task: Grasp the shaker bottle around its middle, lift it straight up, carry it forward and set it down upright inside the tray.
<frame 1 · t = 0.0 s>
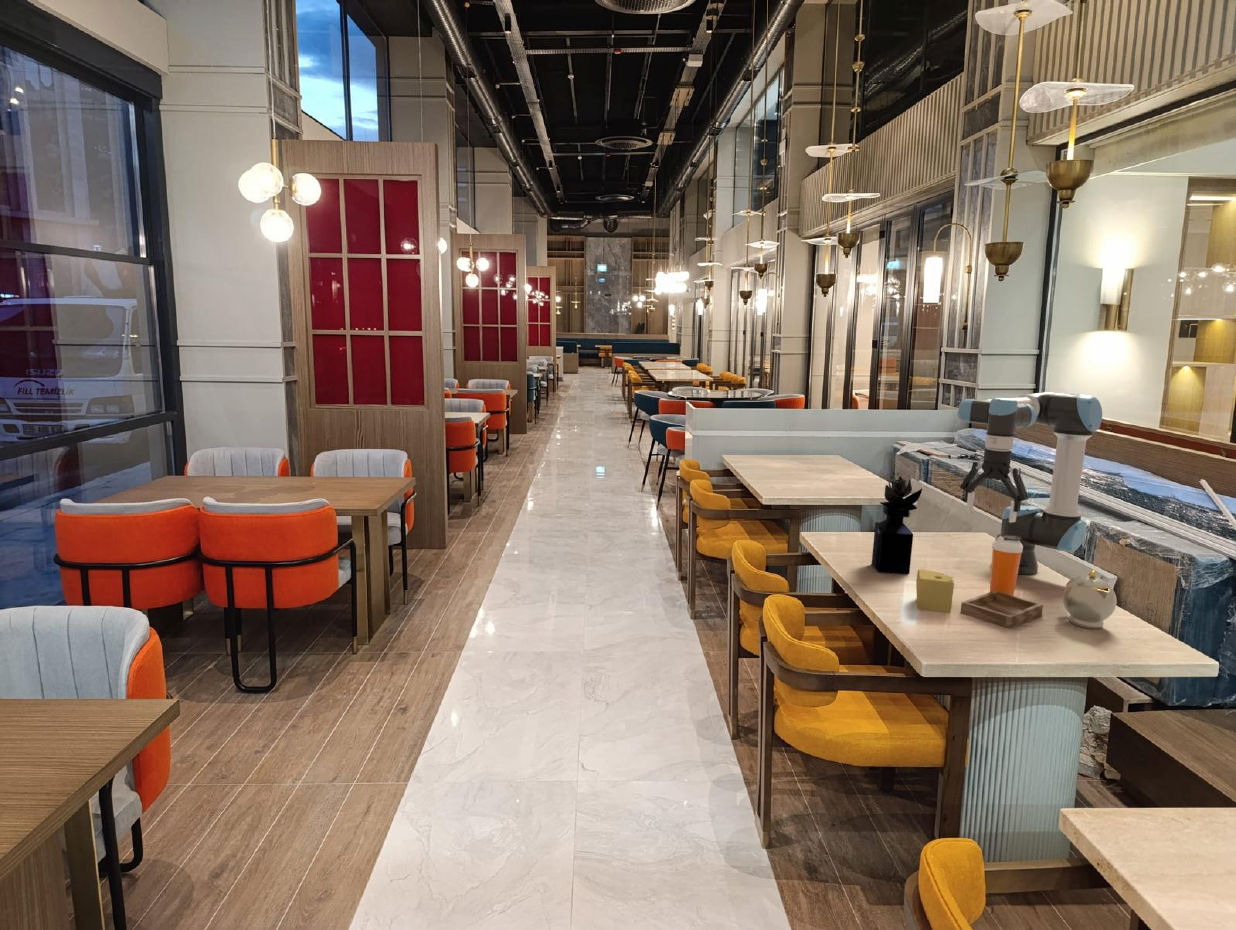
hand: (990, 517, 245), 28 cm above the table, fingers open, 13 cm apart
vase: (890, 569, 284), on the table
cheese: (932, 606, 247), on the table
tray: (1001, 614, 241), on the table
teapot: (1082, 622, 237), on the table
shaker bottle: (1001, 596, 259), on the table
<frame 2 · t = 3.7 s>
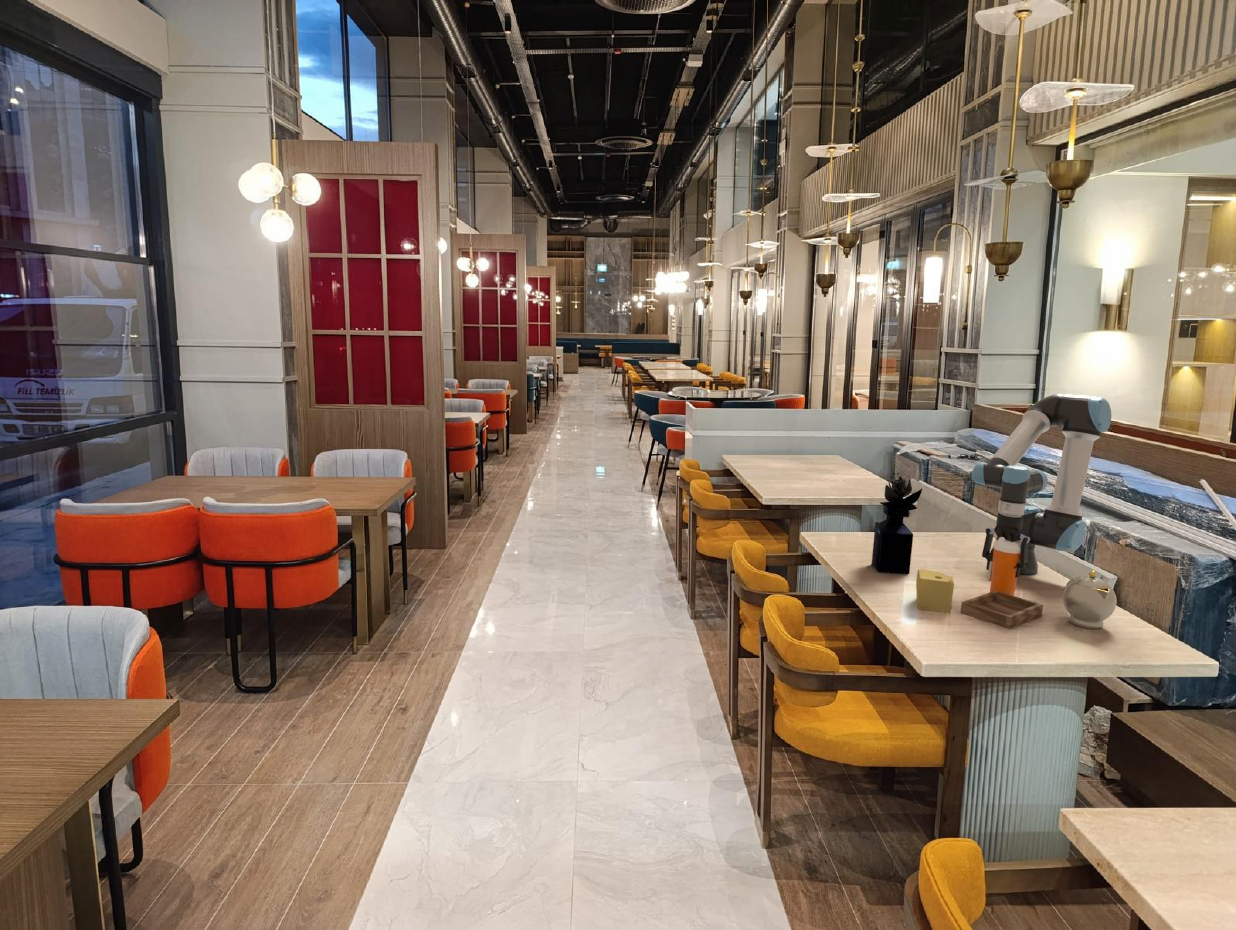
hand: (1000, 583, 259), 4 cm above the table, fingers open, 6 cm apart
shaker bottle: (1001, 596, 259), on the table, touching gripper, hand
everything else where it was.
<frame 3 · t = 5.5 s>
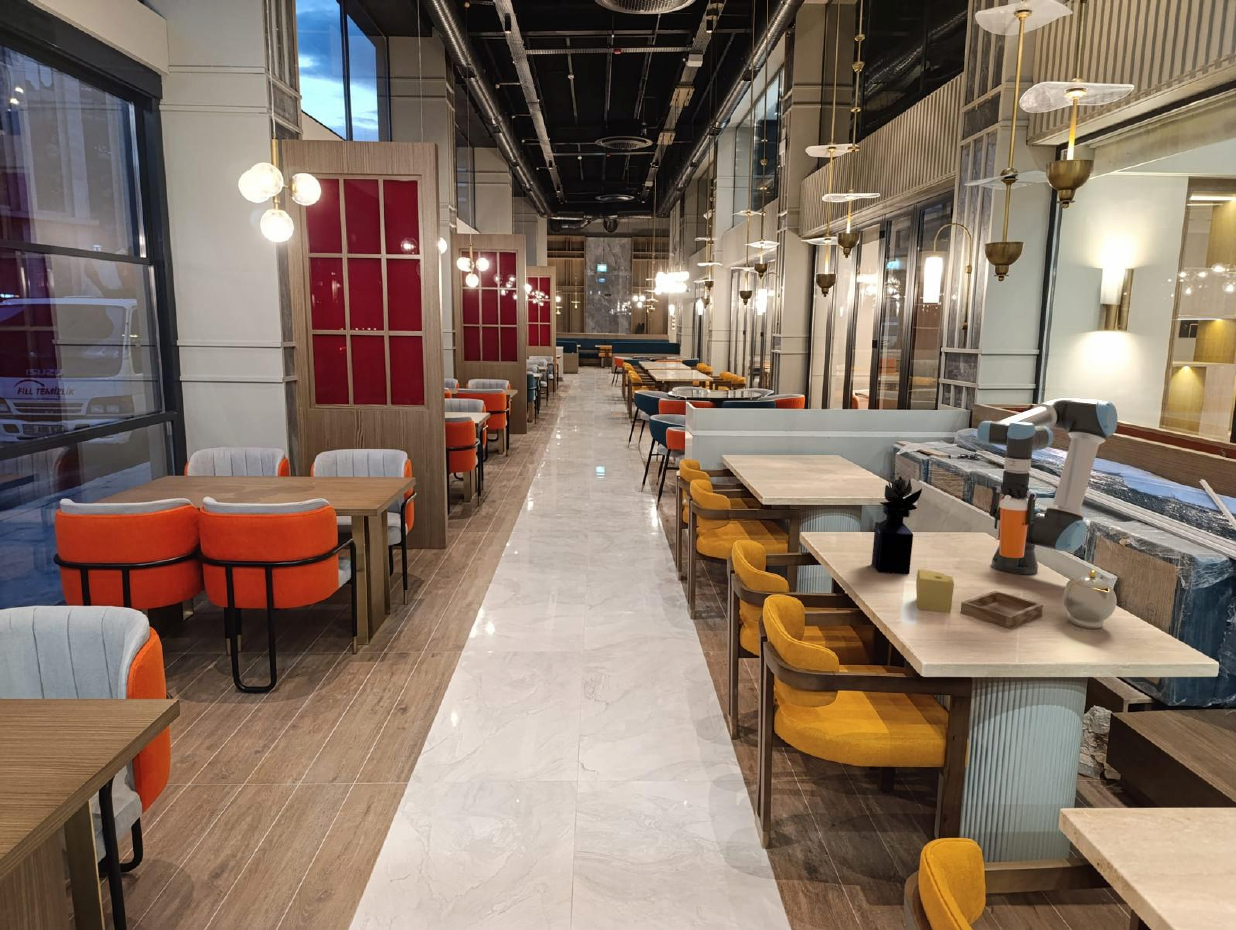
hand: (1008, 541, 256), 18 cm above the table
shaker bottle: (1011, 555, 256), point 14 cm above the table, touching gripper, hand
everything else where it was.
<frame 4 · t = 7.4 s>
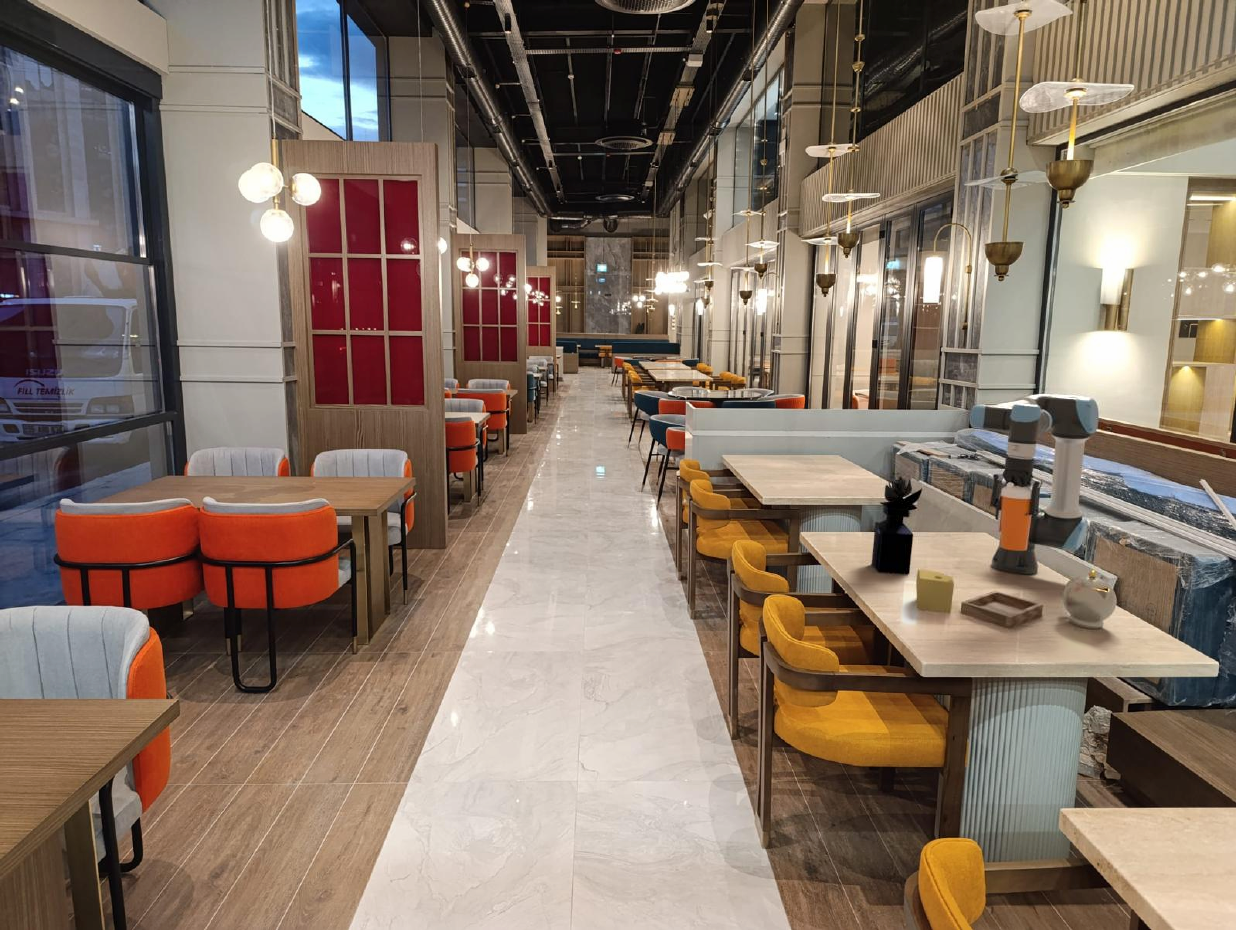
hand: (1010, 533, 237), 25 cm above the table
shaker bottle: (1013, 548, 237), point 21 cm above the table, touching gripper, hand
everything else where it was.
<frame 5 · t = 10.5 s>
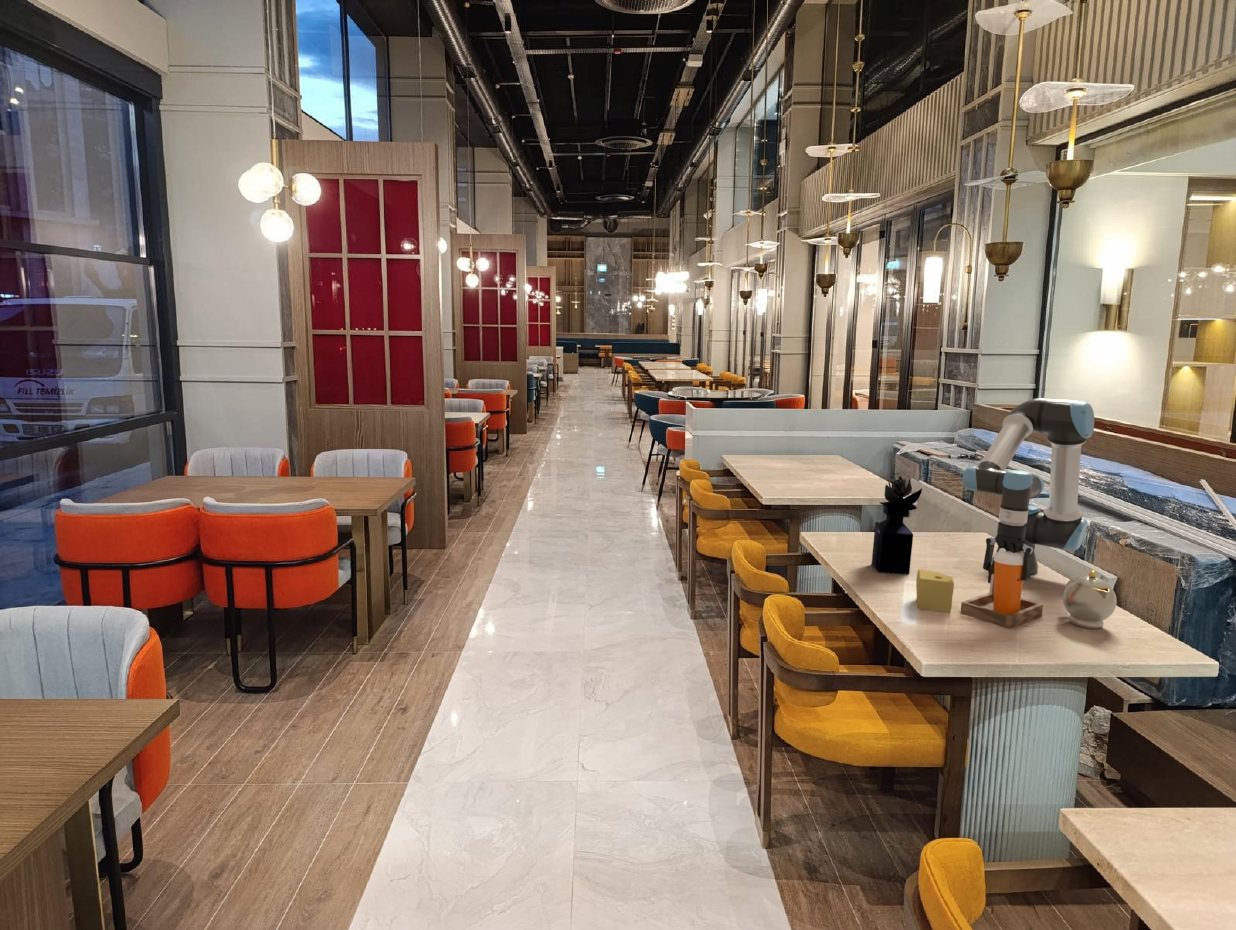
hand: (1002, 597, 240), 6 cm above the table, fingers open, 6 cm apart
shaker bottle: (1006, 612, 240), point 1 cm above the table, touching tray, gripper, hand
everything else where it was.
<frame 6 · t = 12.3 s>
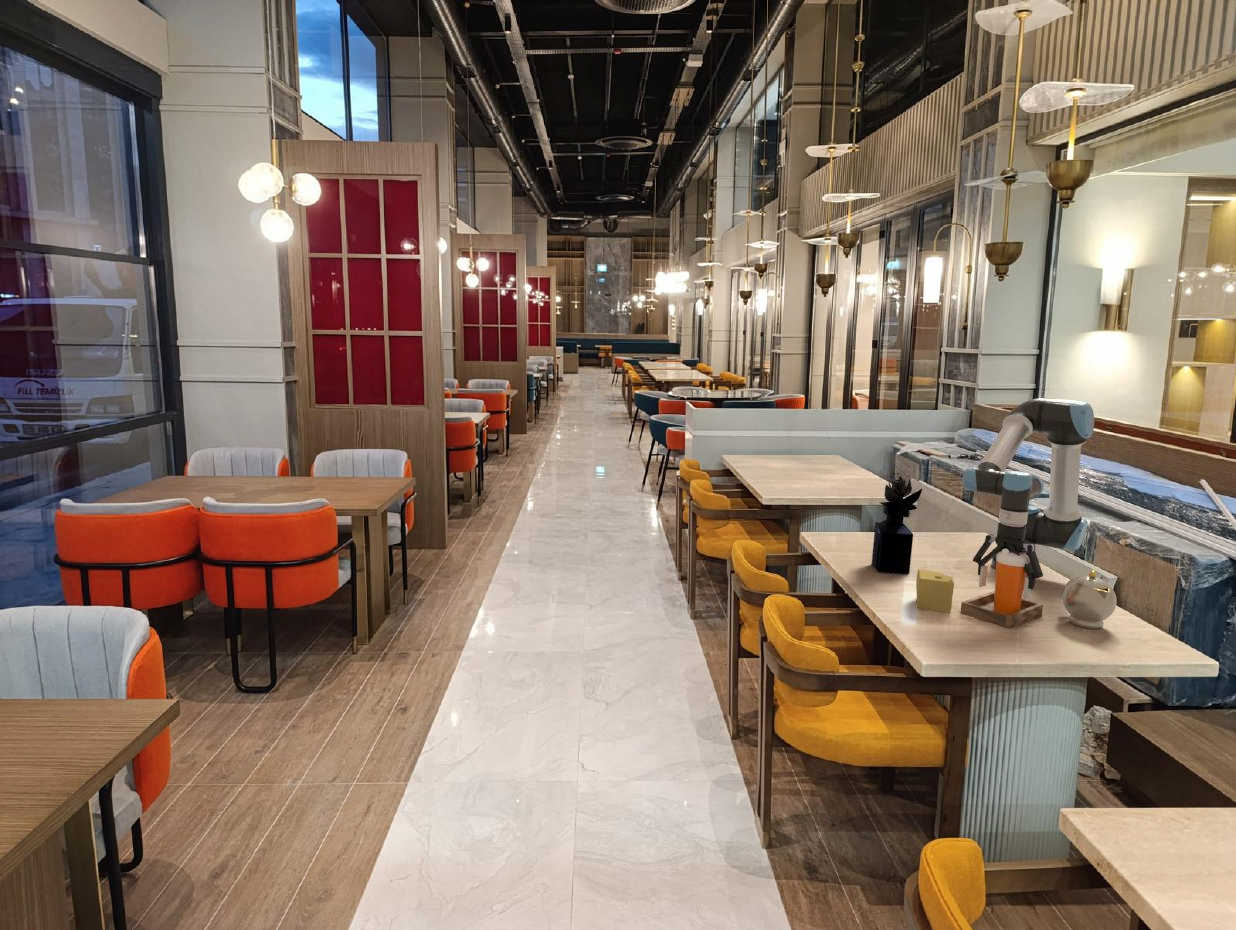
hand: (1003, 592, 240), 7 cm above the table, fingers open, 13 cm apart
shaker bottle: (1006, 612, 240), point 1 cm above the table, touching tray
everything else where it was.
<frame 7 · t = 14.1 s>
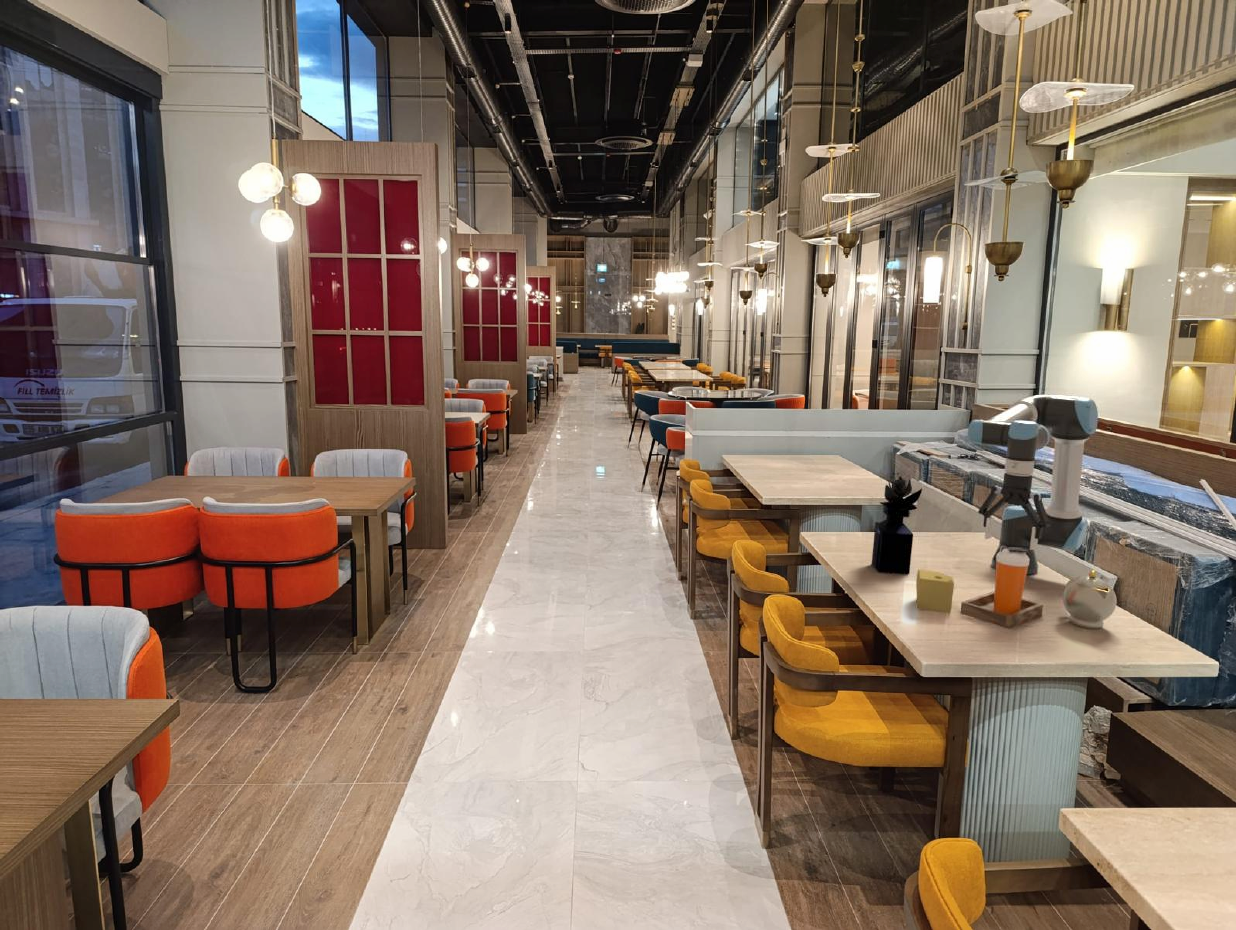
hand: (1010, 543, 238), 22 cm above the table, fingers open, 13 cm apart
nothing on the table moved.
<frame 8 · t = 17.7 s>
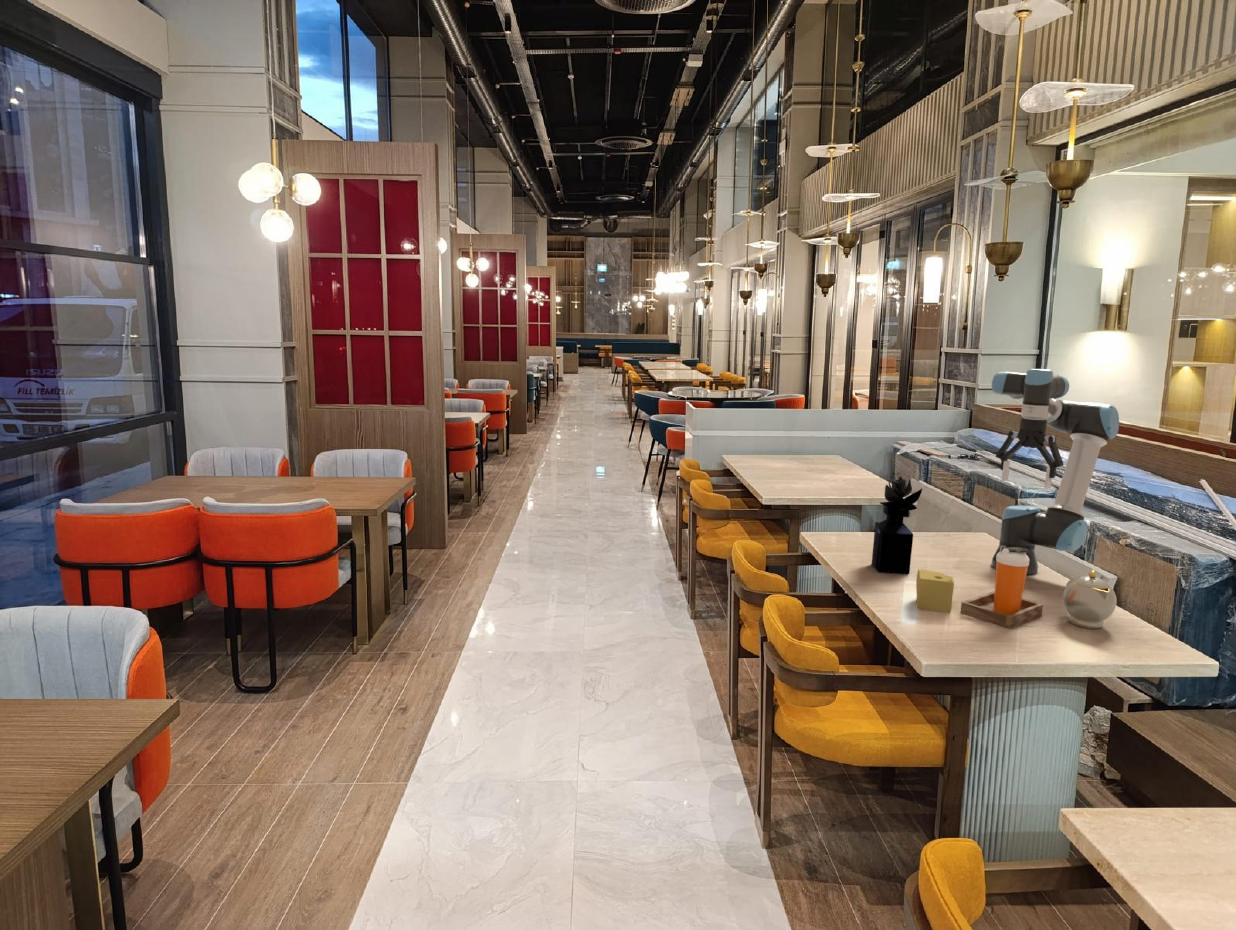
hand: (1025, 484, 255), 37 cm above the table, fingers open, 13 cm apart
nothing on the table moved.
at the end: shaker bottle inside the target area on the tray (1.4 cm from its centre), point 1.0 cm above the tray's base; shaker bottle tilted 0°; the gripper is holding nothing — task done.
